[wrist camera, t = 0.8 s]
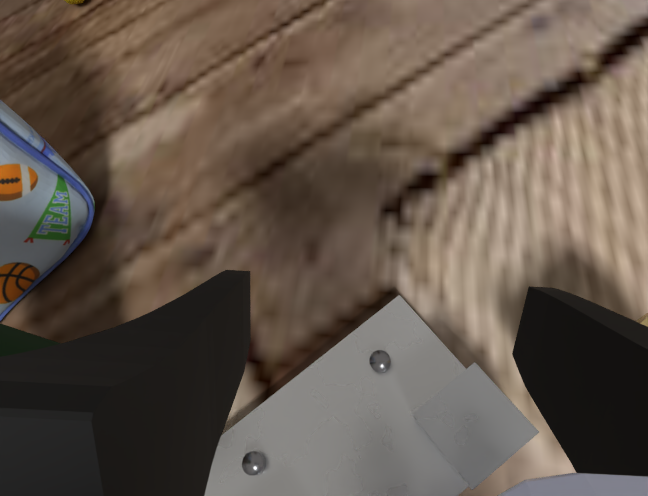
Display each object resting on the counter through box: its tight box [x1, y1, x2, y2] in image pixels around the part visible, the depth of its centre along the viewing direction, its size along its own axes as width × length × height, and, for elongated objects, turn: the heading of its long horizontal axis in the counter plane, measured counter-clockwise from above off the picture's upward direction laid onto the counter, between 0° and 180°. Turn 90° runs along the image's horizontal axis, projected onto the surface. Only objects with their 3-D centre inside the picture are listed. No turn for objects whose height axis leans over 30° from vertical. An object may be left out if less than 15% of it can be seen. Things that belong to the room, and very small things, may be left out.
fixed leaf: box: [204, 295, 539, 496], centre depth 23 cm, size 10×16×4 cm, turn 126°
